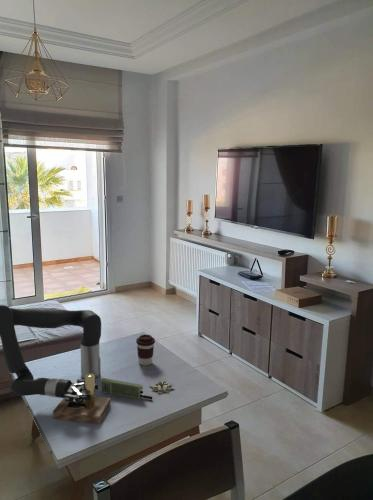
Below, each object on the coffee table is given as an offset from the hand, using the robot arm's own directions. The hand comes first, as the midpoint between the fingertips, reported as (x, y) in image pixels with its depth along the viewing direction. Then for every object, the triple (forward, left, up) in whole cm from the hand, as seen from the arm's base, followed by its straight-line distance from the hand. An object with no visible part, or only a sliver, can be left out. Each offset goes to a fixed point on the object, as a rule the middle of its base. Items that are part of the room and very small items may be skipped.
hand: (94, 392), depth 170 cm
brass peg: (+2, -1, -10) cm, 10 cm away
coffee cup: (-33, -38, -10) cm, 51 cm away
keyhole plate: (+5, -3, -10) cm, 11 cm away
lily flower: (-34, -10, -10) cm, 37 cm away
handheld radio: (-16, -9, -10) cm, 21 cm away
